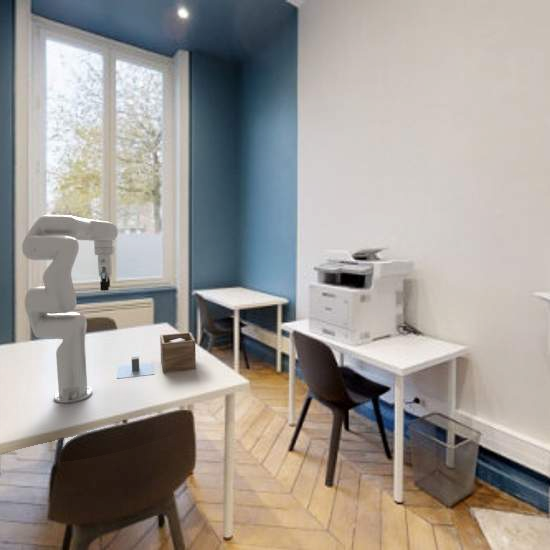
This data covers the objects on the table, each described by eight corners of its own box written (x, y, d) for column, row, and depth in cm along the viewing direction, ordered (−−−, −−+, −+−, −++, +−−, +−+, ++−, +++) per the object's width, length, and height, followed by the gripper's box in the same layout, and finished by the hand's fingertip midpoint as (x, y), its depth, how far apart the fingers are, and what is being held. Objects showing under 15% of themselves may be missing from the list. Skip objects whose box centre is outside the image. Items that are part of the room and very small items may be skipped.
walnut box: (195, 369, 173) (195, 340, 172) (163, 372, 169) (162, 343, 167) (191, 358, 187) (190, 332, 185) (160, 362, 182) (160, 335, 180)
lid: (154, 375, 167) (154, 361, 166) (116, 380, 162) (116, 365, 161) (152, 364, 181) (152, 350, 180) (118, 367, 176) (117, 354, 175)
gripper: (111, 252, 169) (113, 291, 171) (113, 249, 185) (115, 285, 187) (92, 252, 167) (94, 292, 169) (96, 250, 183) (98, 286, 185)
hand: (105, 288), depth 178 cm, fingers open, 9 cm apart
